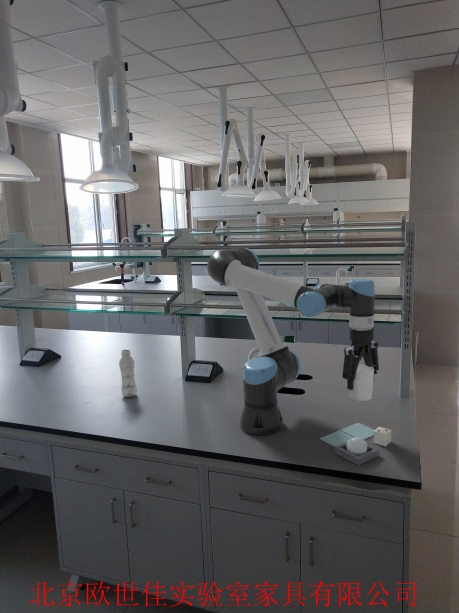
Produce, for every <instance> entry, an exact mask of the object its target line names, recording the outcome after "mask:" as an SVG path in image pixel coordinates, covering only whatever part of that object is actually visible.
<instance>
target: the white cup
mask: <svg viewBox="0 0 459 613" xmlns="http://www.w3.org/2000/svg"><path fill="white" fill-rule="evenodd" d="M373 378H374V379H375V374H374V368H373V367H368V366H366V365H365V364H362V363H361V364H360V363H359V365H358V368H357V371H356V375H355V380H356V400H355V401H360V402H364V401H365V402H367V401H369V400H371V399H372V398H373V393H372V389H373V390H374V382H373Z"/></svg>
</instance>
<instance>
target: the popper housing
mask: <svg viewBox="0 0 459 613" xmlns="http://www.w3.org/2000/svg"><path fill="white" fill-rule="evenodd" d="M334 452H335V454H336V455H338V456H340V457H342V458H344V459H346V460H348V461H349V462H351V463H353V464H355V465H356V466H361V465H363V464H364V463H365V464H366V462H368V461H371V460H372V459H375V458H376V457H379V454H380V452H379V449H378V448H377V447H374V446H372V445H370V444H368V443H367V453H365V454H363V455H361V456H356V455H354V454H352V453H350V452H348V451H347V442H345V443H343V444H341V445H338V446H336V447H334Z"/></svg>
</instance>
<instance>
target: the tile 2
mask: <svg viewBox="0 0 459 613" xmlns="http://www.w3.org/2000/svg"><path fill="white" fill-rule="evenodd" d="M339 430H340V431H342V432H344V433H346V434H348V435H350V436H352V437H358V438H361V439H362V440H364V441H365V440H367V439H369V438H371V437H374V431H375V430H376V429H373V428H371V427H369V426H367V425H365V424H362V423H361V422H356V423H353V424H351V425H349V426H347V427H345V428H342V429H339Z"/></svg>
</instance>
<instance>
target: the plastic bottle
mask: <svg viewBox="0 0 459 613" xmlns="http://www.w3.org/2000/svg"><path fill="white" fill-rule="evenodd" d="M120 356H121V358H120V359H119V362H118V367H119V369H120V375H121V389H120V390H121V395H122V397H124V398H132V397H133V398H134V397H135V396H136V395H137V393H138V387H137V384H136V379H135V360H134V358H133V357H132V356H131V349H129V348H128V349H122V350H121V355H120Z"/></svg>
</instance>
